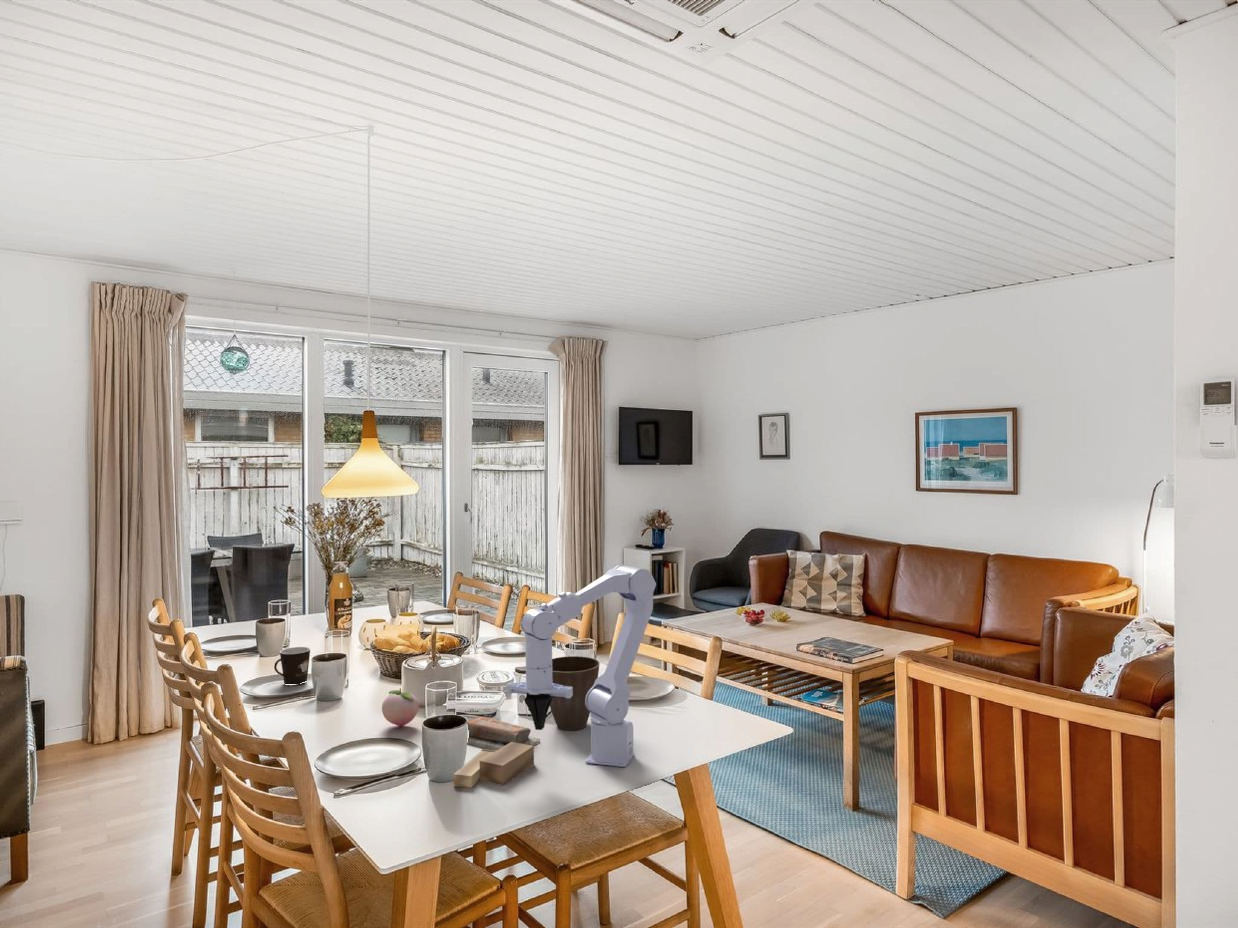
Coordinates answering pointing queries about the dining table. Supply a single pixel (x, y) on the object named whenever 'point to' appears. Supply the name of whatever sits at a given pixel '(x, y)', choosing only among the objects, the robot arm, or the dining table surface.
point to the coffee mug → (294, 664)
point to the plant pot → (582, 679)
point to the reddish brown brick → (497, 734)
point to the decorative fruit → (400, 707)
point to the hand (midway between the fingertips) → (539, 728)
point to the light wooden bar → (471, 770)
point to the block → (506, 763)
